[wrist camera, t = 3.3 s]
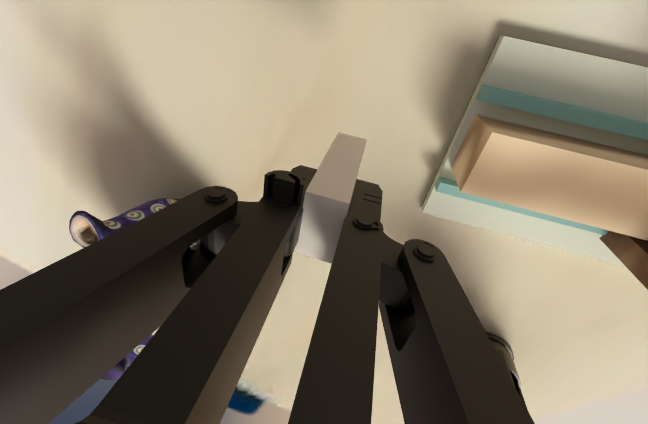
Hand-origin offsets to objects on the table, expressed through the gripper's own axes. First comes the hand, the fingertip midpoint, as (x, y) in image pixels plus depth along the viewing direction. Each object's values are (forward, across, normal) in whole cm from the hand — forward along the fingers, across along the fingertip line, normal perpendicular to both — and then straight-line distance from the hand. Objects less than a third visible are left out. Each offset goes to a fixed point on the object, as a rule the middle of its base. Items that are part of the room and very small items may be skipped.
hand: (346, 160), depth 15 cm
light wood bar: (+7, +13, 0) cm, 15 cm away
